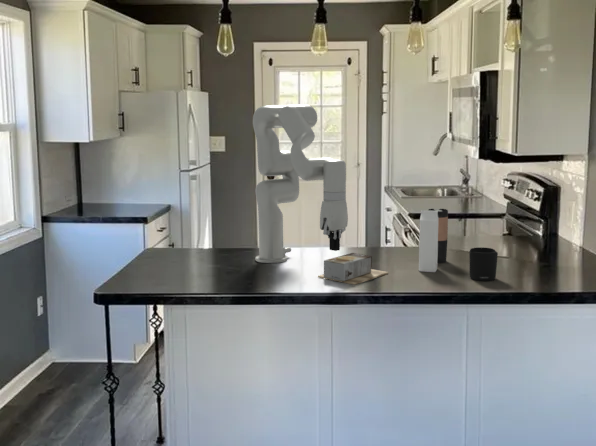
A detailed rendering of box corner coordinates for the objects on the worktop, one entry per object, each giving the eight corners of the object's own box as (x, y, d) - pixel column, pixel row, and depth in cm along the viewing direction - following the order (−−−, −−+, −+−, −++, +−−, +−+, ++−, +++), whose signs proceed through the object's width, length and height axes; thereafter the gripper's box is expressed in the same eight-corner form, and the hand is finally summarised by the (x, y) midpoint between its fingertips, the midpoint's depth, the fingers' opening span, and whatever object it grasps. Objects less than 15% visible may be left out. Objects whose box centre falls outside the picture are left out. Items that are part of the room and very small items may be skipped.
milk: (421, 267, 254) (422, 209, 251) (437, 268, 252) (438, 209, 249) (418, 271, 248) (419, 211, 245) (435, 272, 246) (436, 211, 243)
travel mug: (438, 264, 259) (440, 212, 256) (422, 261, 265) (423, 209, 262) (450, 261, 264) (452, 209, 261) (434, 258, 270) (436, 207, 267)
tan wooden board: (352, 267, 256) (352, 265, 255) (388, 273, 245) (388, 272, 245) (318, 277, 241) (318, 275, 241) (354, 284, 230) (354, 283, 230)
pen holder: (463, 278, 237) (464, 250, 236) (477, 273, 244) (478, 246, 242) (488, 283, 231) (489, 254, 229) (501, 278, 237) (502, 249, 236)
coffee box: (323, 259, 237) (351, 252, 249) (323, 277, 238) (351, 269, 250) (344, 263, 231) (372, 255, 243) (344, 282, 232) (371, 273, 244)
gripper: (339, 193, 238) (339, 245, 241) (311, 197, 227) (312, 252, 230) (356, 195, 233) (356, 248, 236) (329, 199, 222) (329, 255, 225)
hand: (334, 249), depth 233 cm, fingers closed
